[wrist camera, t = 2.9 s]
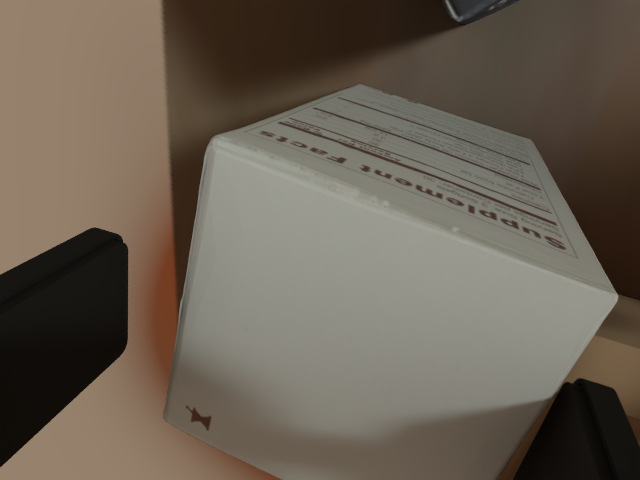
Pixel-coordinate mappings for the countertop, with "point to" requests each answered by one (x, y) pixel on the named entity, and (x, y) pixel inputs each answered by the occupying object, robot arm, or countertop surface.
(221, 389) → the supplement box
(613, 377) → the maple plinth
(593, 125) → the countertop surface
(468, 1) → the small box
